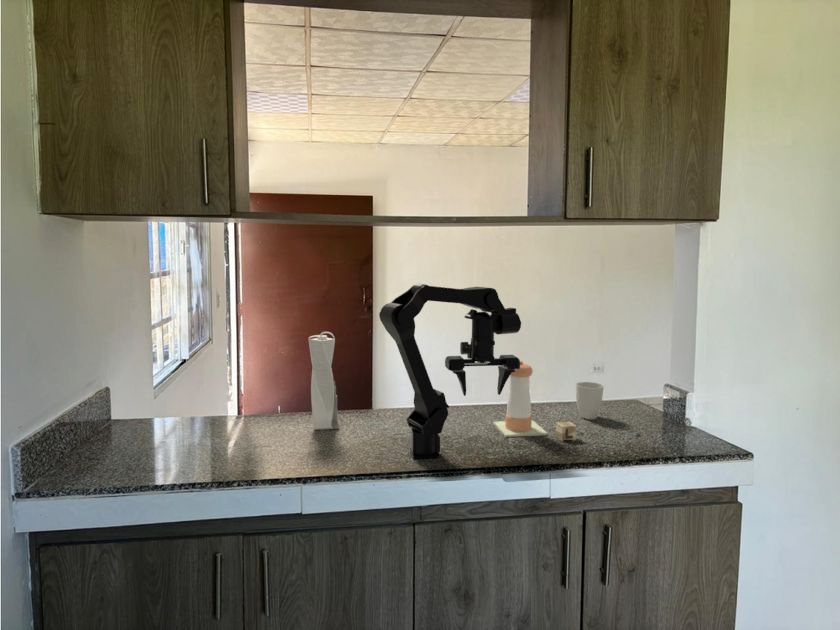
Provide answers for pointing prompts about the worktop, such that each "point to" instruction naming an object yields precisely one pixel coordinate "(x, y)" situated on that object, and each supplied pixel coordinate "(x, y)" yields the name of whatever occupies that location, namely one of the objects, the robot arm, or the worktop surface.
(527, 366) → the pepper shaker
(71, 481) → the worktop surface
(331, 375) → the skyscraper
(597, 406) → the cup
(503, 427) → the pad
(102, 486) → the worktop surface
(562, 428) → the letter cube
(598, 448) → the worktop surface
